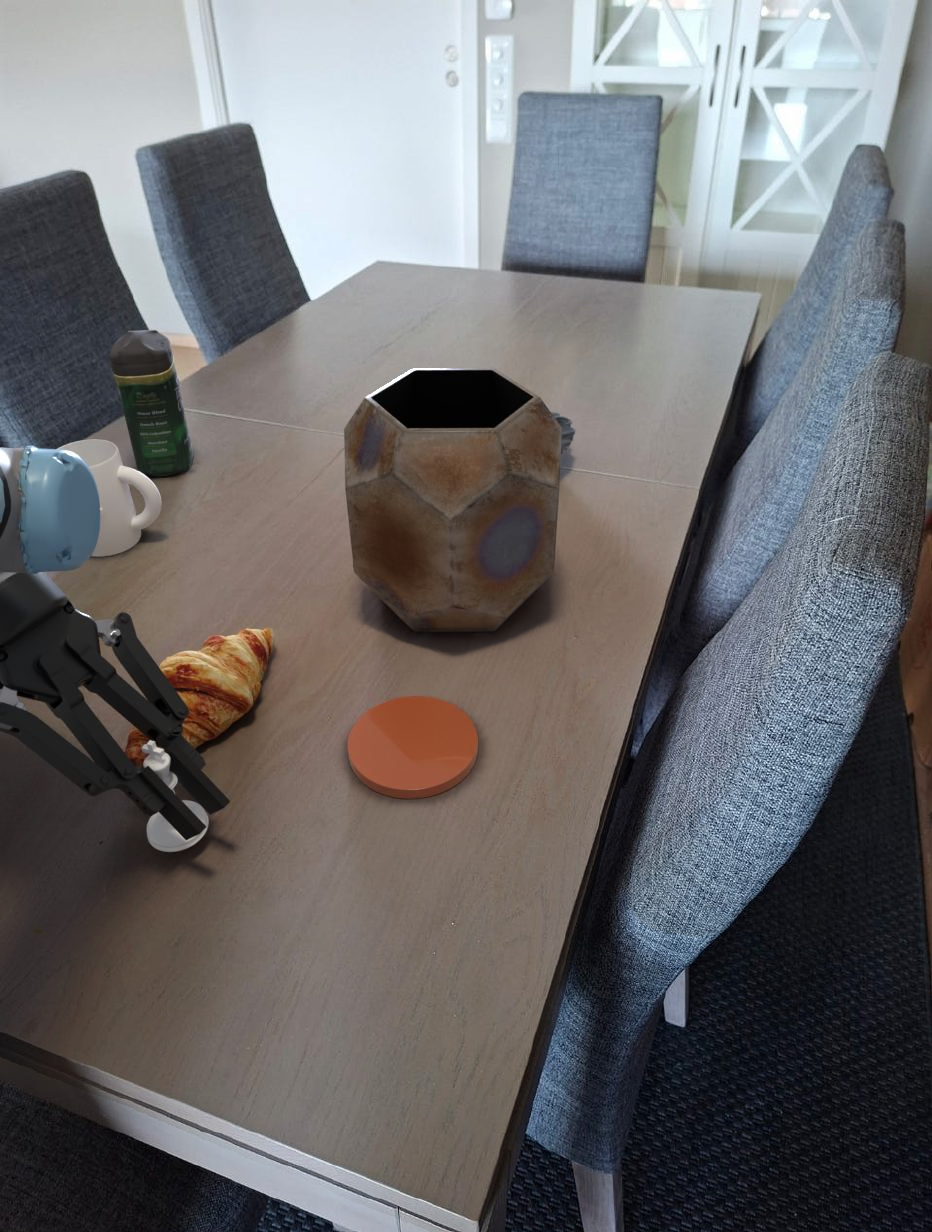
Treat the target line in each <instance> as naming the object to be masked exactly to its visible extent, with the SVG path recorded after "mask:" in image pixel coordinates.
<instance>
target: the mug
mask: <svg viewBox="0 0 932 1232" xmlns="http://www.w3.org/2000/svg"><path fill="white" fill-rule="evenodd" d="M57 449H58V450H67V451H70V452H72V453H74V454H76V455H78V456H79V457H80V458H81V459H82V460H83V461H84V462H85V463H86V464H87V466H88V467H89V469H90V471H91V472H92V474H93V477H94V479H95V482H96V485H97V488H98V493H99V498H100V512H101V517H100V533H99V537H98V541H97V545H96V547H95V549H94V551H93V553H92V555H91V557H95V558H96V557H97V558H99V557H100V558H101V557H110V556H114V555H118V554H121V553H124V552H126V551H128V550H130V549H132V548H133V547H134V546H136V544H138V543H139V542H140V539H141V537H142V530H143V529H146V528H148V527H150V526H151V525H153V524H154V523H155V522H156V521H157V520H158V518H159V516H160V514H161V511H162V496H161V494H160V491H159V489H158V487H157V486H156V484H155V483H154V482H153V481H152V480H151V478H149V477H148V475H146V474H142V473H141V472H139V471H138V469H135V468H133V467H130V466H127V465H124V464H123V460H122V456H121V453H120V450H119V448H118V446H117V445H116V444H115V443H113V442H112V441H109V440H106V439H98V438H96V439H95V438H94V439H85V440H84V439H82V440H77V441H73V442H70V443H67V444H64V445H62V446H60V447H58V448H57ZM129 485H130V486H132V487H134V488H135V489H136V490H138V491H139V493H140V494H141V495H142V497H143V499H144V503H145V505H144V509H143V510H142V512H140V513H139V514H137V512H136V508H135V504H134V499H133V497H132V493H131V489H130V486H129Z"/></svg>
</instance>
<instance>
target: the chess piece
mask: <svg viewBox="0 0 932 1232" xmlns="http://www.w3.org/2000/svg"><path fill="white" fill-rule="evenodd" d="M142 751H143V752H144V753H148V754H150V755H149V756H147V757H146V758H145V760H144V763H143V766H142V767H143V769H144V768H145V767H147V766H149V767H150V768H151V769H152V770H153V771H154V772H155V773H156V774H157V775H158V776H159V777H160V778H161V779H162V780H163V782H164V783H165V784H166V785H167V786H168V787H169V788H170V789H171V790H172V791H173V792H174V793H175V794H176V792H175V790H174V788H175V787H176V786H177V784H178V779H177V776H176V775H175V774H174V773H173V772H171V771H169V766H170V756H169V755H168V754H167V753H165V752H164V749H161V748H158V747H156V744H155V741H151V740H150V741H149V742H148V743H147V745H146V744H145V745H144V746H143V747H142ZM181 800H182V801H183V802H184V804H185V805H186V806H187V807H188V808H189V809H190V810H191V811H192V812H193V813H194V814H195V815H196V816H197V817H198V818H199V819H200V820H201V821H202V822H203V823H204V824H205V825H206V828H205V829H204V830H203V831H202V832H201V833H200V834H199V835H196V836H194V837H192V838H190V839H188V840H185V839H184V838H183V837H182V836H181V835H180V834H179V833H178V832H177V831H176V830H175V828H174V827H173V826H172V825H171V824H170V823H169V822H168V821H167V820H166V819H165V818H164V817H163V816H162V815H161V814H160V813H159V812H158V813H156V814H154V815H152V816H150V817H149V819H148V822H147V824H146V837H147V840H148V843H149V844H150V845H151V846H152V847H153V848H154V849H156V850H158V851H161V852H167V853H174V852H180V851H183V850H186V849H189V848H190V847H193V846H195V845H196V844H197V843H198V842H200V840H201V839H202V838H204V836H205V834H206V833H207V832H208V829H209V824H210V823H209V822H210V821H209V816H208V813H207V811H206V810H205V809H204V808H203V807H202V806H201V805H200V804H199V803H198V802H197V801H193V800H187V799H181Z"/></svg>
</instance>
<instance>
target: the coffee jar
mask: <svg viewBox="0 0 932 1232" xmlns="http://www.w3.org/2000/svg"><path fill="white" fill-rule="evenodd" d="M172 349H173V348H172V346H171V341H170V339H169V338H168V337H167V336H166V335H164V334H163V333H161V332H159V331H158V330H157V329H143V330H141V329H140V330H128V331H127V332H125V334H124V335H122V336H121V337H119V338H118V339H117V340H116V341H115V342H114V344H113V345H112V347H111V349H110V352H109V360H110V365H111V371H112V374H113V377H114V381H115V384H116V388H117V391H118V395H119V399H120V403H121V408H122V411H123V415H124V420H125V423H126V427H127V432H128V435H129V440H130V445H131V449H132V453H133V457H134V462H135V465H136V470H137V471H139V472H141V473H142V474H144V475H146V476H155V477H168V476H171V475H173V474H177V473H180V472H184V471H186V470H188V468H189V467H190V466H191V463H192V461H193V457H194V449H193V444H192V440H191V435H190V429H189V426H188V421H187V417H186V416H187V415H186V412H185V407H184V402H183V397H182V392H181V387H180V383H179V378H178V377H179V376H178V372H177V368H176V362H175V357H174V353H173V350H172Z"/></svg>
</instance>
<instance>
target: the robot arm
mask: <svg viewBox="0 0 932 1232" xmlns="http://www.w3.org/2000/svg"><path fill="white" fill-rule="evenodd" d="M100 517H101V512H100V498H99V493H98V488H97V485H96V482H95V479H94V477H93V474H92V472H91V471H90V469H89V467H88V466H87V464H86V463H85V462H84V461H83V460H82V459H81V458H80V457H79V456H78V455H76V454H74V453H72V452H70V451H67V450H58V448H56V449H55V448H40V447H39V448H38V447H36V446H35V445H25V446H24V447H0V732H1V733H3V734H7V735H9V736H13V737H14V738H15V739H17V740H18V741H19V742H21V743H22V744H23V745H24V746H25V747H27V748H28V749H30V751H32V752H33V753H34V754H36V755H37V756H38V757H39V758H41V759H42V760H43V761H45V762H46V763H47V764H49V765H50V766H51V767H53V768H54V769H55V770H56V771H58V772H59V773H60V774H61V775H63V776H64V777H65V778H67V779H68V780H69V781H70V782H72V783H73V784H74V785H76V786H77V787H78V788H79V789H81V790H82V791H83V792H85V793H86V794H87V795H88V796H90V797H96V796H99V795H100V794H103V793H106V792H108V791H110V790H113V789H115V790H116V789H117V790H120V791H121V792H123V793H124V795H126V797H128V798H129V799H130V801H132V803H134V805H135V806H136V807H138V808H139V810H140V811H141V812H142V813H143V814H144V815H145V816H149V817H151V816H152V815H154V814H156V813H158V812H159V813H160V814H161V815H162V816H163V817H164V818H165V819H166V820H167V821H168V822H169V823H170V824H171V825H172V826H173V827H174V828H175V830H176V831H177V832H178V833H179V834H180V835H181V836H182V837H183V838H184V839H185V840H188V839H190V838H192V837H194V836H196V835H199V834H200V833H201V832H202V831H203V830H204V829H205V828H206V825H205V824H204V823H203V822H202V821H201V820H200V819H199V818H198V817H197V816H196V815H195V814H194V813H193V812H192V811H191V810H190V809H189V808H188V807H187V806H186V805H185V804H184V802H183V801H182V800H183V799H181V798H180V797H179V796H178V795H177V793H176V792H175V791H174V792H175V793H174V792H173V791H172V790H171V789H170V788H169V787H168V786H167V785H166V784H165V783H164V782H163V780H162V779H161V778H160V777H159V776H158V775H157V774H156V773H155V772H154V771H153V770H152V769H151V768H150V767H149V766H147V767H145V768H144V767H143V769H141V770H139V771H138V769H137V766H135V765H134V764H133V763H132V762H131V760H130V759H129V758H128V756H127V755H126V754H125V753H124V752H125V750H124V749H122V747H121V746H120V745H119V743H118V742H117V741H116V740H115V739H114V737H113V735H112V734H111V733H110V732H109V730H108V729H107V728H106V726H105V725H104V724H103V723H102V722H101V720H100V719H99V717H98V716H97V715H96V714H95V712H94V711H93V710H92V708H91V707H90V706H89V705H88V703H87V702H86V700H85V696H84V694H83V692H82V691H81V690H80V689H79V688H80V687H84V688H85V690H87V691H88V692H90V693H92V694H96V695H97V696H98V697H99V698H101V699H102V700H103V701H104V702H105V703H106V704H108V705H109V706H110V707H111V708H113V710H115V711H116V712H117V713H118V714H119V715H120V716H122V717H123V719H125V720H126V721H127V722H129V723H130V724H131V725H132V726H133V727H134V726H135V727H136V728H137V729H138V730H139V731H140V732H142V733H143V734H144V735H145V736H146V737H147V738H149V739H150V740H151V741H155V744H156V745H157V746H160V747H162V748H163V749H164V752H165V753H167V754H168V755H169V756H170V766H169V771H171V772H173V773H174V774H175V775H176V776H177V779H178V781H177V783H179V784H180V786H181V787H183V789H184V790H185V791H186V792H187V793H188V794H189V795H190V796H191V797H192V798H193V799H194V800H195V802H196V803H198V804H199V805H201V806H202V807H203V809H204V810H205V812H206V814H207V815H209V816H211V815H213V814H215V813H217V812H219V811H221V810H223V809H225V808H226V807H227V806H228V805H229V804H230V803H231V800H230V799H229V798H228V797H227V796H226V795H225V794H224V793H223V792H222V790H221V789H220V788H219V787H218V786H217V785H216V784H215V783H214V782H213V781H212V780H211V779H210V778H209V777H208V776H207V774H205V773H204V771H203V768H204V767H205V766H206V765H207V763H206V761H205V758H204V757H203V756H202V755H201V754H200V753H199V752H198V751H197V750H196V748H195V749H194V748H193V747H192V746H191V745H190V744H189V743H188V741H187V740H186V739H185V738H184V737H183V736H182V733H183V725H182V724H183V722H184V720H185V718H186V717H187V716H188V715H189V708H188V707H187V705H186V704H185V702H184V701H183V700H182V698H181V697H180V696H179V694H178V693H177V691H176V690H175V689H174V687H173V686H172V685H171V683H170V682H169V680H168V679H167V678H166V676H165V675H164V674H163V672H162V671H161V669H160V668H159V665H158V664H157V662H156V661H155V660H154V659H153V657H152V656H151V654H150V653H149V651H148V650H147V648H146V647H145V645H143V643H142V642H141V640H140V639H139V638H138V635H137V632H136V629H135V626H134V622H133V618H132V617H131V615H130V614H129V613H127V612H123V611H122V612H119V613H118V614H117V615H116V616H115V617H113V618H105V619H97V620H95V619H94V618H93V617H91V616H90V615H88V614H87V613H83V612H82V611H80V610H78V609H76V608H75V606H74V605H73V604H72V602H71V601H70V598H69V597H68V596H67V595H66V594H65V593H64V592H63V591H62V590H61V589H60V587H58V585H57V584H56V583H55V582H54V581H53V580H52V579H51V578H50V577H49V575H47V573H46V572H69V571H74V570H76V569H77V570H78V569H79V568H81V567H82V566H83V565H84V564H86V563H87V562H88V561H89V559H90V558H91V557H92V556H91V555H92V553H93V551H94V549H95V547H96V545H97V541H98V537H99V533H100ZM100 639H101V640H102V642H103V645H105V646H107V647H111V650H112V652H113V654H114V655H115V658H116V659H117V660H118V662H119V663H120V665H121V666H122V667H123V668H124V670H125V672H126V673H127V674H128V675H129V677H130V678H131V679H132V681H133V682H134V683H135V685H136V687H138V689H139V691H140V692H141V693H140V692H139V691H138V690H137V689H135V687H134V686H132V685H131V684H130V683H129V682H127V681H126V680H125V678H123V677H121V676H120V675H119V674H118V672H117V668H115V666H114V665H113V664H112V663H110V662H109V661H108V660H107V659H106V658H105V657H103V656H102V652H101V643H100ZM142 694H143V695H142ZM145 697H146V698H147V699H146V698H145ZM19 698H23V699H29V700H32V701H37V702H41V703H44V704H45V705H46V706H47V708H48V709H49V710H50V711H51V712H52V714H53V715H54V716H55V718H58V719H59V720H61V721H62V722H63V724H64V725H65V726H66V727H67V729H68V730H69V731H70V732H71V734H72V735H73V737H75V739H76V740H77V742H78V744H80V745H81V747H83V749H84V751H85V752H86V753H87V754H88V755H89V756H88V755H86V754H85V753H84V752H82V751H81V750H80V749H78V748H77V747H76V746H75V745H73V743H71V742H69V741H68V740H67V739H66V738H64V737H63V736H62V735H61V734H59V733H58V731H56V730H54V729H53V728H52V727H51V726H49V724H47V723H45V721H43V720H42V719H40V717H38V716H37V715H35V714H34V713H32V712H30V711H28V710H27V706H26V704H25V702H23V701H22V700H21V699H19Z"/></svg>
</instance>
